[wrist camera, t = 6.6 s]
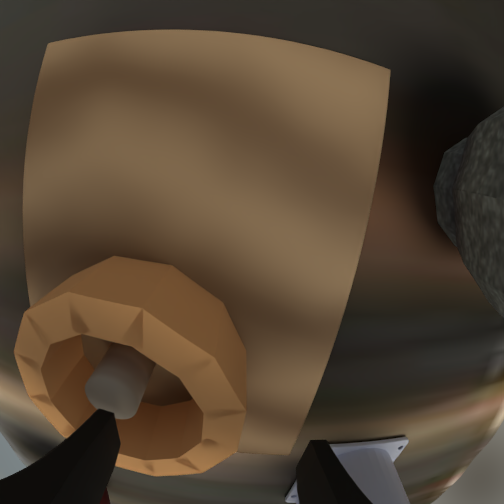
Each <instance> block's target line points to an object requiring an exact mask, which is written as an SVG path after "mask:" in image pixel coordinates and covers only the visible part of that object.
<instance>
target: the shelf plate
mask: <svg viewBox="0 0 504 504" xmlns="http://www.w3.org/2000/svg"><path fill="white" fill-rule="evenodd" d="M389 83H390V70H389V69H386V68H384V67H381V66H378V65H375V64H373V63H370V62H367V61H364V60H361V59H357V58H354V57H351V56H348V55H344V54H341V53H337V52H334V51H330V50H326V49H322V48H318V47H314V46H310V45H305V44H301V43H296V42H291V41H286V40H280V39H275V38H269V37H262V36H255V35H248V34H239V33H230V32H218V31H202V30H141V31H126V32H115V33H105V34H97V35H90V36H84V37H77V38H72V39H66V40H61V41H56V42H52V43H48V46H47V49H46V52H45V56H44V59H43V63H42V66H41V70H40V74H39V78H38V82H37V87H36V91H35V96H34V101H33V106H32V111H31V117H30V123H29V130H28V137H27V145H26V155H25V166H24V182H23V241H24V257H25V268H26V278H27V286H28V294H29V301H30V307H31V306H32V305H34V304H35V303H36V302H38V301H39V300H40V299H41V298H43V297H44V296H45V295H47V294H48V293H49V292H51V291H52V290H53V289H55V288H56V287H57V286H59V285H60V284H61V283H63V282H64V281H65V280H67V279H68V278H69V277H71V276H72V275H74V274H76V273H78V272H80V271H83V270H85V269H87V268H89V267H91V266H93V265H95V264H97V263H100V262H102V261H104V260H106V259H108V258H110V257H113V256H119V257H125V258H131V259H137V260H143V261H149V262H155V263H161V264H168V265H173V266H174V267H175V268H177V269H178V270H179V271H181V272H182V273H183V274H185V275H186V276H187V277H189V278H190V279H191V280H193V281H194V282H195V283H197V284H198V285H200V286H201V287H202V288H204V289H205V290H206V291H208V292H209V293H211V294H212V295H213V296H215V297H216V298H218V299H219V300H220V301H222V302H223V303H224V305H225V307H226V309H227V312H228V314H229V316H230V318H231V320H232V322H233V324H234V326H235V328H236V330H237V332H238V335H239V337H240V339H241V341H242V343H243V345H244V347H245V349H246V392H247V412H246V416H245V420H244V424H243V429H242V433H241V437H240V441H239V446H238V450H237V452H239V453H252V454H269V455H290V453H291V450H292V448H293V446H294V444H295V442H296V439H297V437H298V435H299V433H300V430H301V428H302V426H303V423H304V421H305V419H306V416H307V414H308V411H309V409H310V407H311V404H312V402H313V399H314V397H315V394H316V391H317V389H318V386H319V384H320V381H321V378H322V376H323V373H324V370H325V367H326V365H327V362H328V359H329V356H330V353H331V350H332V348H333V345H334V342H335V339H336V336H337V333H338V330H339V326H340V323H341V320H342V317H343V314H344V310H345V307H346V304H347V300H348V297H349V294H350V290H351V287H352V283H353V279H354V276H355V272H356V268H357V264H358V261H359V257H360V253H361V249H362V245H363V241H364V236H365V232H366V228H367V223H368V219H369V214H370V209H371V205H372V200H373V195H374V190H375V184H376V179H377V173H378V168H379V162H380V156H381V149H382V143H383V136H384V128H385V121H386V112H387V103H388V94H389ZM81 338H82V345H83V351H84V355H85V357H86V358H87V360H88V361H89V363H90V364H91V365H92V367H93V368H94V372H93V373H92V375H91V376H90V378H89V379H88V381H87V383H86V385H85V393H86V396H87V398H88V400H89V401H90V403H91V404H92V405H93V406H94V407H95V408H96V409H99V408H100V409H103V410H106V411H110V412H113V413H114V415H115V418H116V419H129V418H132V417H133V416H134V415H135V414H136V412H137V410H138V407H139V404H140V402H144V403H149V404H153V405H158V406H166V405H171V404H176V403H181V402H186V401H190V400H191V399H193V398H192V396H191V395H190V393H189V392H188V390H187V389H186V387H185V386H184V384H183V383H182V381H181V380H180V378H179V377H177V376H176V375H174V374H172V373H171V372H169V371H168V370H166V369H165V368H163V367H161V366H160V365H158V364H157V363H155V362H154V361H152V360H151V359H149V358H148V357H146V356H145V355H143V354H142V353H140V352H139V351H138V350H136V349H135V348H133V347H132V346H128V345H124V344H120V343H115V342H111V341H107V340H103V339H100V338H96V337H92V336H88V335H85V334H81Z"/></svg>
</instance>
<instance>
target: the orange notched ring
mask: <svg viewBox="0 0 504 504" xmlns="http://www.w3.org/2000/svg"><path fill="white" fill-rule="evenodd" d="M81 334H85V335H88V336H92V337H96V338H100V339H103V340H107V341H111V342H115V343H120V344H124V345H128V346H132V347H133V348H135V349H136V350H138V351H139V352H140V353H142V354H143V355H145V356H146V357H148V358H149V359H151V360H152V361H154V362H155V363H157V364H158V365H160V366H161V367H163V368H165V369H166V370H168V371H169V372H171V373H172V374H174V375H176V376H177V377H179V378H180V380H181V381H182V383H183V384H184V386H185V387H186V389H187V390H188V392H189V393H190V395H191V396H192V398H193V399H191V400H190V401H186V402H181V403H176V404H171V405H166V406H158V405H153V404H149V403H144V402H140V404H139V407H138V410H137V412H136V414H135V415H134V416H133V417H132V418H129V419H116V418H115V420H116V424H117V429H118V433H119V438H120V442H121V445H120V449H119V453H118V457H117V460H116V464H115V466H118V467H121V468H125V469H128V470H132V471H136V472H140V473H144V474H148V475H152V476H173V475H186V474H197V473H203V472H205V471H206V470H208V469H210V468H211V467H213V466H215V465H216V464H218V463H220V462H221V461H223V460H224V459H226V458H228V457H229V456H231V455H232V454H234V453H235V452H237V450H238V446H239V441H240V437H241V433H242V429H243V424H244V420H245V416H246V412H247V392H246V349H245V347H244V345H243V343H242V341H241V339H240V337H239V335H238V332H237V330H236V328H235V326H234V324H233V322H232V320H231V318H230V316H229V314H228V312H227V309H226V307H225V305H224V303H223V302H222V301H220V300H219V299H218V298H216V297H215V296H213V295H212V294H211V293H209V292H208V291H206V290H205V289H204V288H202V287H201V286H200V285H198V284H197V283H195V282H194V281H193V280H191V279H190V278H189V277H187V276H186V275H185V274H183V273H182V272H181V271H179V270H178V269H177V268H175V267H174V266H173V265H168V264H161V263H155V262H149V261H143V260H137V259H131V258H125V257H119V256H113V257H110V258H108V259H106V260H104V261H102V262H100V263H97V264H95V265H93V266H91V267H89V268H87V269H85V270H83V271H80V272H78V273H76V274H74V275H72V276H71V277H69V278H68V279H67V280H65V281H64V282H63V283H61V284H60V285H59V286H57V287H56V288H55V289H53V290H52V291H51V292H49V293H48V294H47V295H45V296H44V297H43V298H41V299H40V300H39V301H38V302H36V303H35V304H34V305H32V306H31V307H30V308H29V309H27V310H26V311H25V312H24V315H23V318H22V322H21V325H20V329H19V333H18V337H17V340H16V344H15V349H14V354H15V358H16V361H17V364H18V367H19V370H20V373H21V376H22V379H23V382H24V385H25V388H26V390H27V393H28V396H29V397H30V398H31V400H32V401H33V402H34V404H35V405H36V406H37V407H38V408H39V410H40V411H41V412H42V413H43V415H44V416H45V417H46V418H47V419H48V420H49V422H50V423H51V424H52V425H53V426H54V427H55V428H56V429H57V430H58V432H59V433H60V434H61V435H62V436H64V437H65V438H68V437H69V436H70V435H71V434H72V433H73V432H74V431H76V430H77V429H78V428H79V427H80V426H81V425H82V424H83V423H84V422H85V421H86V420H87V419H88V418H89V417H90V416H91V415H92V414H93V413H94V412H95V411H96V410H97V409H96V408H95V407H94V406H93V405H92V404H91V403H90V401H89V400H88V398H87V396H86V393H85V385H86V383H87V381H88V379H89V378H90V376H91V375H92V373H93V372H94V368H93V367H92V365H91V364H90V363H89V361H88V360H87V358H86V357H85V355H84V351H83V345H82V338H81Z"/></svg>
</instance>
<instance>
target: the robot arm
mask: <svg viewBox="0 0 504 504" xmlns="http://www.w3.org/2000/svg"><path fill="white" fill-rule="evenodd" d="M408 442H409V440H408V438H407V437H401V438H394V439H386V440H378V441H369V442H357V443H343V444H329V443H328V442H327V441H326V440H310V442H309V444H308V446H307V448H306V450H305V452H304V454H303V456H302V458H301V459H300V461H299V463H298V465H297V467H296V481H295V483H294V485H293V486H292V488H291V490H290V491H289V493H288V495H287V496H286V498H285V501H286V502H288V503H296V504H410V503H409V500H408V498H407V495H406V493H405V490H404V488H403V485H402V483H401V480H400V478H399V476H398V473H397V471H396V468H395V466H394V464H393V462H394V461H395V459H396V458H397V457H398V455H399V454H400V453H401V452H402V450H403V449H404V448H405V446H406V445H407V444H408ZM120 445H121V442H120V438H119V433H118V429H117V424H116V420H115V415H114V413H113V412H110V411H106V410H103V409H100V408H99V409H97V410H96V411H95V412H94V413H93V414H92V415H91V416H90V417H89V418H88V419H87V420H86V421H85V422H84V423H83V424H82V425H81V426H80V427H79V428H78V429H77V430H76V431H74V432H73V433H72V434H71V435H70V436H69V437H68V438H66V439H65V440H64V441H63V442H62V443H61V444H59V445H58V446H57V447H56V448H54V449H53V450H52V451H50V452H49V453H48V454H46V455H45V456H44V457H42V458H41V459H39V460H38V461H36V462H35V463H33V464H31V465H30V466H28V467H26V468H24V469H23V470H21V471H19V472H17V473H15V474H13V475H11V476H8V477H6V478H4V479H1V480H0V504H100V501H101V499H102V496H103V494H104V491H105V489H106V486H107V484H108V482H109V479H110V477H111V474H112V472H113V469H114V467H115V464H116V460H117V457H118V453H119V449H120Z"/></svg>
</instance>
